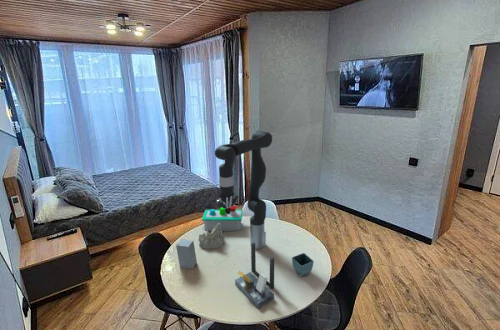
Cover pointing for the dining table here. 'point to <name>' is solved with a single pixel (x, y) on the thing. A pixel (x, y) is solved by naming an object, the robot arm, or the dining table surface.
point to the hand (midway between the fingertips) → (227, 213)
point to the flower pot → (302, 264)
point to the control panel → (223, 219)
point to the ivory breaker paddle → (261, 282)
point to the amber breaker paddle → (244, 276)
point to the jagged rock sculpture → (211, 238)
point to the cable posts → (253, 266)
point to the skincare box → (186, 253)
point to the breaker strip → (254, 291)
